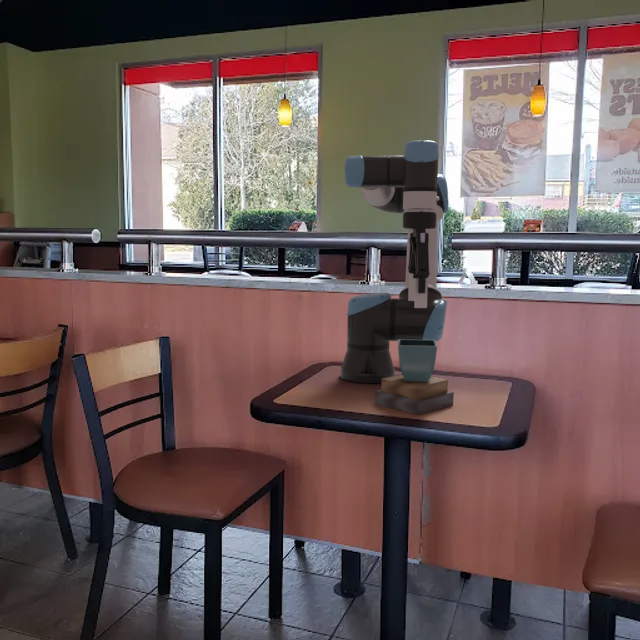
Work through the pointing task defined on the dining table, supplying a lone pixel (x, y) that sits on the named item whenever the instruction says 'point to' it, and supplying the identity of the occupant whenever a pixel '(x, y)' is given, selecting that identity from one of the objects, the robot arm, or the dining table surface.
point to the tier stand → (414, 394)
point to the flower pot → (417, 359)
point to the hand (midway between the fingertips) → (417, 304)
